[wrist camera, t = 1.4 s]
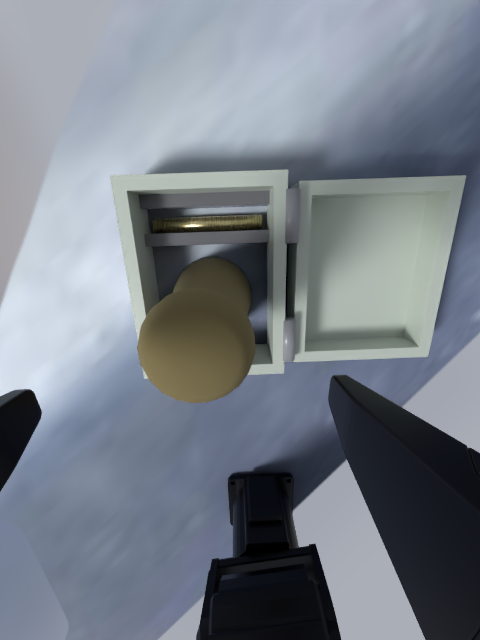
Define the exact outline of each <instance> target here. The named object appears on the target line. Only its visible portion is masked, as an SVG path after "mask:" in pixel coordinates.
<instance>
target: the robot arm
mask: <svg viewBox="0 0 480 640" xmlns="http://www.w3.org/2000/svg"><path fill="white" fill-rule="evenodd" d="M328 401H329V406H330V409H331V412H332V415H333V419H334V422H335V425H336V428H337V432H338V435H339V438H340V441H341V444H342V447H343V450H344V453H345V455H346V458H347V460H348V463H349V465H350V467H351V470H352V472H353V474H354V476H355V479H356V481H357V483H358V485H359V488H360V490H361V492H362V495H363V497H364V499H365V502H366V504H367V506H368V508H369V511H370V513H371V515H372V518H373V520H374V522H375V524H376V527H377V529H378V532H379V534H380V536H381V538H382V540H383V543H384V545H385V548H386V550H387V552H388V554H389V557H390V559H391V561H392V564H393V566H394V568H395V571H396V573H397V575H398V577H399V580H400V582H401V584H402V587H403V589H404V591H405V594H406V596H407V598H408V600H409V603H410V605H411V607H412V609H413V612H414V614H415V616H416V619H417V621H418V623H419V626H420V628H421V630H422V633H423V635H424V637H425V639H426V640H480V453H479V452H477V451H475V450H474V449H472V448H467V446H466V445H465V444H463V443H461V442H460V441H458V440H456V439H455V438H453V437H451V436H449V435H448V434H446V433H444V432H443V431H441V430H439V429H437V428H436V427H434V426H432V425H431V424H429V423H427V422H425V421H424V420H422V419H420V418H419V417H417V416H415V415H413V414H412V413H410V412H408V411H407V410H405V409H403V408H402V407H400V406H398V405H396V404H395V403H393V402H391V401H390V400H388V399H386V398H385V397H383V396H381V395H379V394H378V393H376V392H374V391H373V390H371V389H369V388H367V387H366V386H364V385H362V384H361V383H359V382H357V381H355V380H354V379H352V378H350V377H349V376H347V375H333V376H332V377H331V381H330V388H329V396H328ZM41 414H42V412H41V408H40V406H39V403H38V401H37V399H36V396H35V394H34V392H33V391H32V390H29V389H23V390H14V391H11V392H9V393H7V394H5V395H3V396H0V491H1V490H2V488H3V487H4V485H5V483H6V482H7V480H8V479H9V477H10V475H11V474H12V472H13V470H14V469H15V467H16V465H17V463H18V461H19V460H20V458H21V456H22V454H23V452H24V450H25V448H26V446H27V444H28V442H29V440H30V438H31V436H32V434H33V432H34V431H35V429H36V427H37V425H38V423H39V421H40V419H41ZM232 481H234V482H232ZM293 487H294V479H293V476H292V474H265V475H242V476H230V477H229V478H228V493H229V509H230V523H231V525H233V557H232V558H226V559H219V558H216V559H212V563H211V568H210V571H209V573H208V579H207V585H206V591H205V597H204V603H203V608H202V614H201V620H200V625H199V629H198V632H197V636H196V640H341V637H340V632H339V628H338V623H337V619H336V615H335V611H334V607H333V603H332V600H331V596H330V592H329V589H328V586H327V582H326V579H325V576H324V572H323V569H322V565H321V562H320V558H319V555H318V551H317V548H316V545H315V544H310V545H309V546H306V547H299V546H298V541H297V536H296V531H295V526H294V521H293V516H292V512H293Z"/></svg>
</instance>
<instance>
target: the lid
mask: <svg viewBox="0 0 480 640" xmlns="http://www.w3.org/2000/svg"><path fill="white" fill-rule="evenodd" d="M465 180H466V175H460V176H430V177H401V178H372V179H342V180H313V181H299V182H297V183H296V184H294V185H293V186H292V187H290V189H292V188H299V189H301V197H300V225H299V243H289V250H288V292H287V317H293V318H296V337H295V360H294V361H293V362H308V361H333V360H358V359H383V358H408V357H428V354H429V349H430V344H431V340H432V335H433V330H434V326H435V321H436V316H437V311H438V307H439V302H440V297H441V293H442V288H443V283H444V279H445V274H446V269H447V264H448V260H449V255H450V250H451V246H452V241H453V236H454V232H455V227H456V222H457V217H458V213H459V208H460V203H461V199H462V194H463V189H464V185H465Z"/></svg>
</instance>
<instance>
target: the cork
mask: <svg viewBox="0 0 480 640" xmlns="http://www.w3.org/2000/svg"><path fill="white" fill-rule="evenodd" d="M251 301H252V295H251V286H250V284H249V281H248V278H247V276H246V275H245V274H244V273H243V271H242V270H241V269H240V268H239V267H238V266H236V265H235V264H233V263H232V262H230V261H229V260H225V259H222V258H218V257H209V258H202V259H199V260H197V261H194V262H192V263H191V264H190V265H188V266H187V267H186V268H185V269H184V270H183V271H182V272H181V274H180V276H179V278H178V279H177V281H176V284H175V287H174V290H173V293H172V294H169V295H167V296H166V297H165V298H163V299H162V300H161V301H160V302H159V303H158V304H156V305H155V306H154V307H153V308H152V309H151V310H150V311H149V313H148V314H147V316H146V318H145V320H144V321H143V323H142V325H141V328H140V334H139V340H138V346H137V349H138V355H139V360H140V364H141V366H142V368H143V370H144V371H145V373H146V375H147V377H148V379H149V380H150V381H151V383H153V384H154V385H155V386H156V387H157V388H158V389H159V390H160V391H161V392H162V393H164V394H166V395H168V396H170V397H172V398H174V399H176V400H180V401H185V402H189V403H201V402H209V401H212V400H215V399H218V398H221V397H224V396H226V395H227V394H229V393H230V392H231V391H233V390H234V389H236V388H237V387H238V386H239V385H240V384H241V383H242V381H243V380H244V379H245V377H246V376H247V375H248V373H249V371H250V368H251V365H252V362H253V359H254V356H255V334H254V330H253V328H252V325H251V323H250V320H249V318H248V312H249V308H250V304H251Z"/></svg>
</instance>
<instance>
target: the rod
mask: <svg viewBox="0 0 480 640" xmlns="http://www.w3.org/2000/svg"><path fill="white" fill-rule="evenodd" d="M152 226H153V231H154V233H155V234H156V233H182V232H208V231H235V230H261V229H262V214H261V215H235V216H209V217H182V218H156V219H153V220H152Z"/></svg>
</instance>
